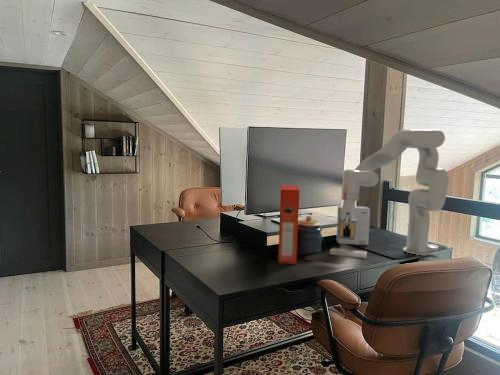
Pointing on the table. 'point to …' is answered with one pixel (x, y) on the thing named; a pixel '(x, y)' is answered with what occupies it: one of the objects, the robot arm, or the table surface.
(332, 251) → the shelf board
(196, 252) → the table surface
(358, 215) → the hard drive box
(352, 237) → the carton
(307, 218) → the canister
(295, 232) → the file binder
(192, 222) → the table surface
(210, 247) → the table surface
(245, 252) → the table surface
